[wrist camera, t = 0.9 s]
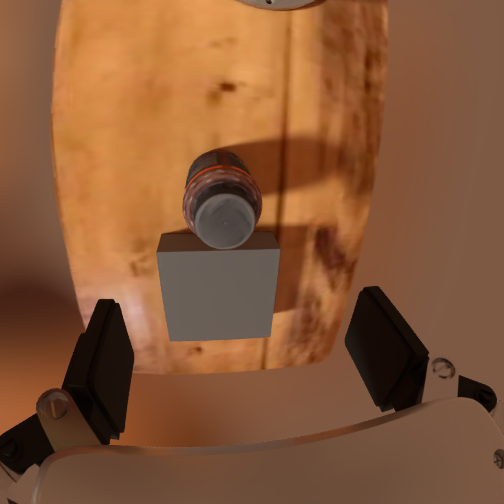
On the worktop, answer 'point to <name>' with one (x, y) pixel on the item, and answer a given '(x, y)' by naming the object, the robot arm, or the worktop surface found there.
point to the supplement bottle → (221, 200)
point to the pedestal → (218, 287)
